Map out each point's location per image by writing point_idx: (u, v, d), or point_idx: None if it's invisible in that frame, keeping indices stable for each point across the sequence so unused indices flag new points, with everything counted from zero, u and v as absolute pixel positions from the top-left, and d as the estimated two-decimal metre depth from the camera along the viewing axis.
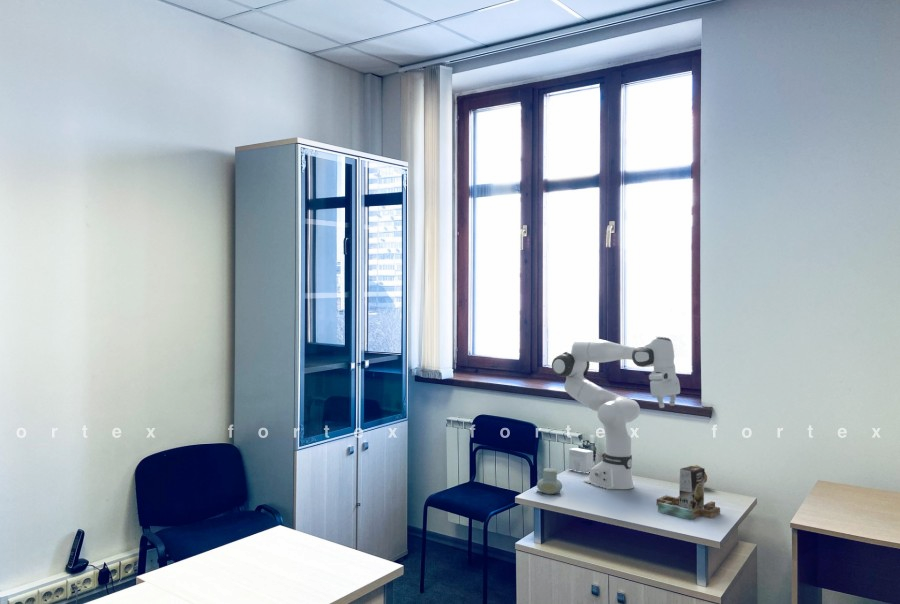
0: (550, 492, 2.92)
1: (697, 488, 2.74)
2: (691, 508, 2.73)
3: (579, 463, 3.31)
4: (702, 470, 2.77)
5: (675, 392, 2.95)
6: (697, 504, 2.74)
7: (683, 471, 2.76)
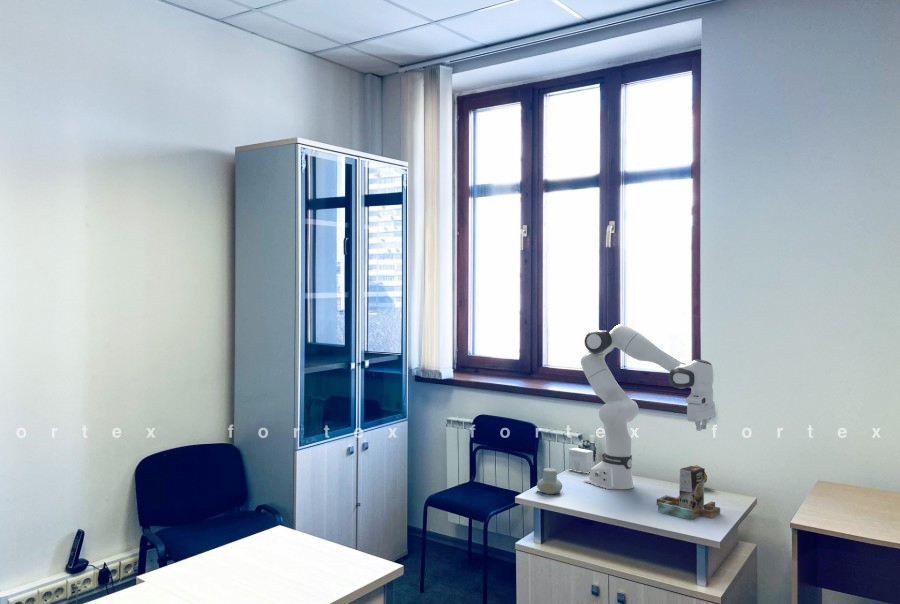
0: (550, 492, 2.92)
1: (697, 488, 2.74)
2: (691, 508, 2.73)
3: (579, 463, 3.31)
4: (702, 470, 2.77)
5: (710, 416, 2.95)
6: (697, 504, 2.74)
7: (683, 471, 2.76)
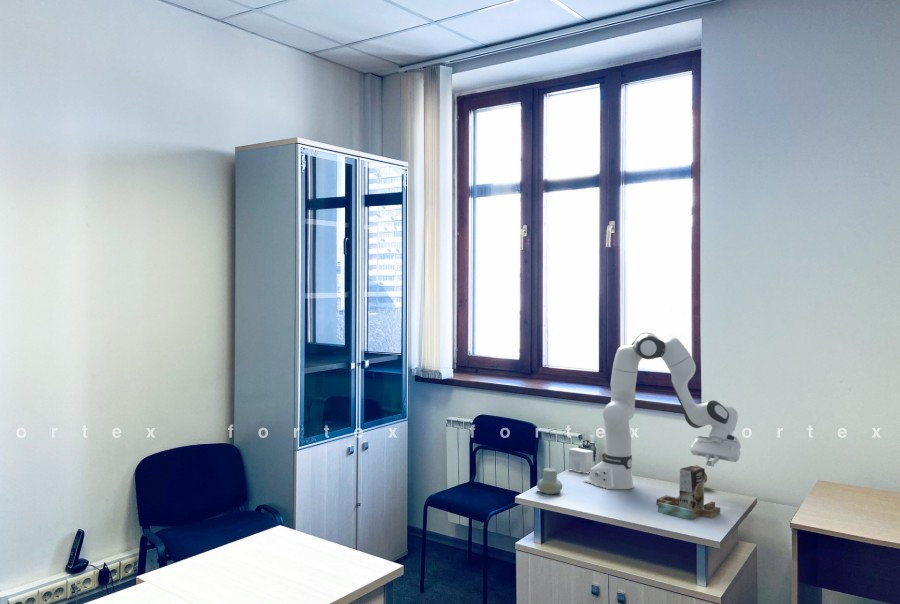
0: (550, 492, 2.92)
1: (697, 488, 2.74)
2: (691, 508, 2.73)
3: (579, 463, 3.31)
4: (702, 470, 2.77)
5: None
6: (697, 504, 2.74)
7: (683, 471, 2.76)
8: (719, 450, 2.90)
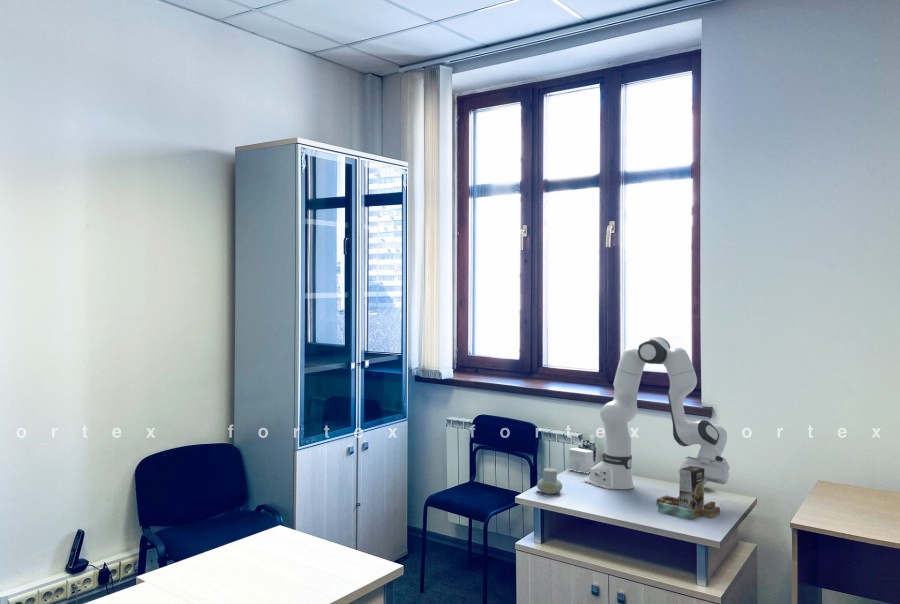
0: (550, 492, 2.92)
1: (697, 488, 2.74)
2: (691, 508, 2.73)
3: (579, 463, 3.31)
4: (702, 470, 2.77)
5: None
6: (696, 504, 2.74)
7: (683, 471, 2.76)
8: (707, 472, 2.82)
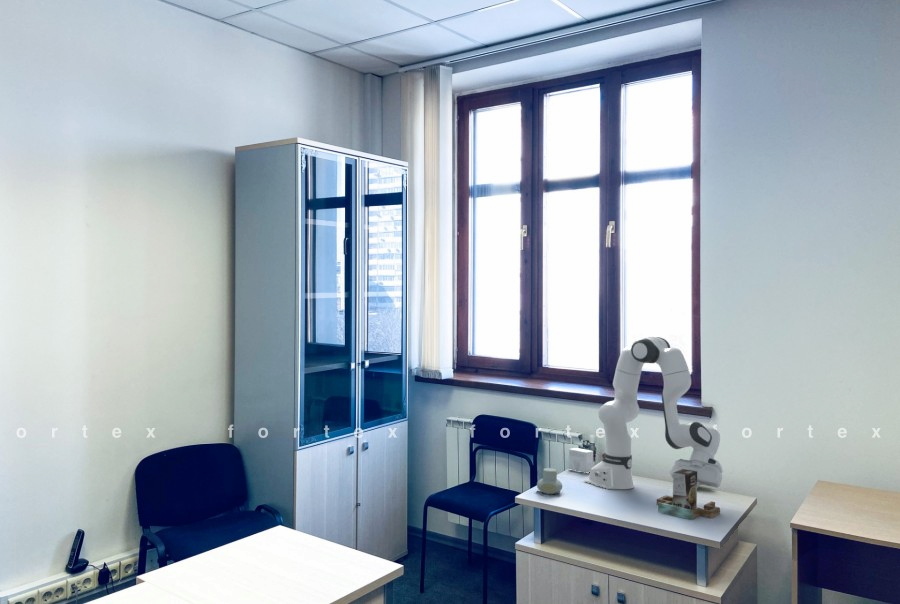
0: (550, 492, 2.92)
1: (691, 492, 2.69)
2: None
3: (579, 463, 3.31)
4: (695, 473, 2.72)
5: None
6: (690, 508, 2.69)
7: (677, 475, 2.70)
8: (700, 475, 2.77)
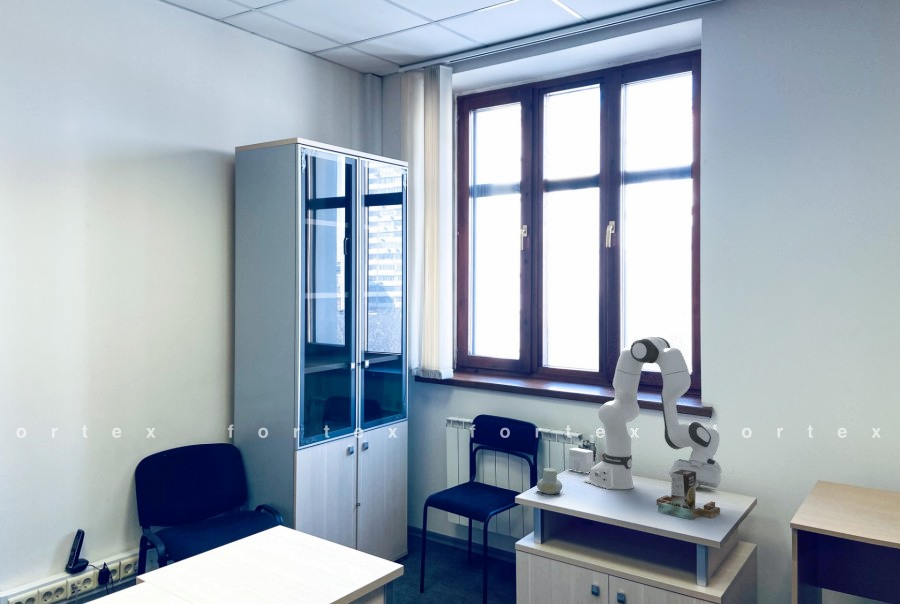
0: (550, 492, 2.92)
1: (689, 492, 2.68)
2: None
3: (579, 463, 3.31)
4: (694, 473, 2.71)
5: None
6: None
7: (675, 475, 2.69)
8: (699, 475, 2.76)
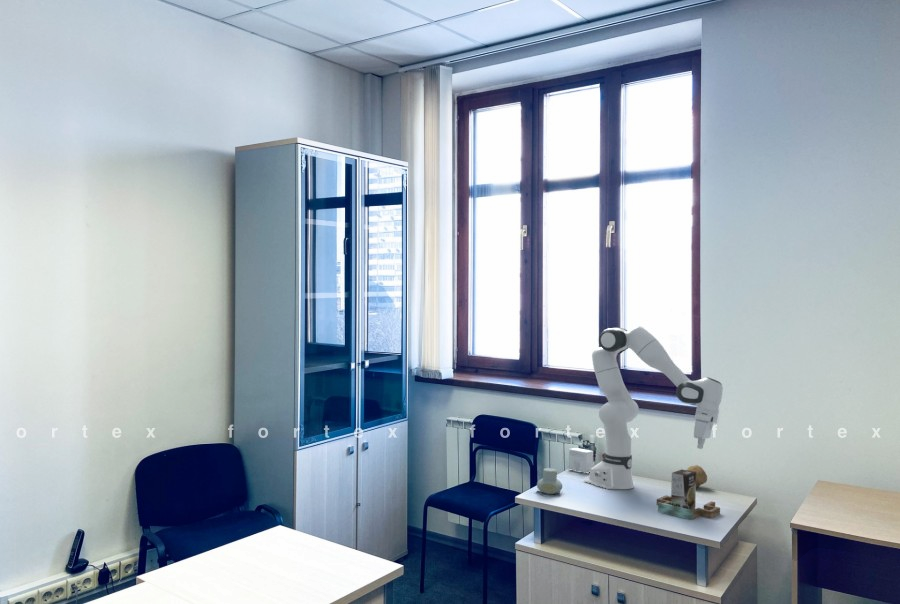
0: (550, 492, 2.92)
1: (689, 492, 2.68)
2: None
3: (579, 463, 3.31)
4: (694, 473, 2.71)
5: (708, 436, 2.91)
6: None
7: (675, 475, 2.69)
8: None
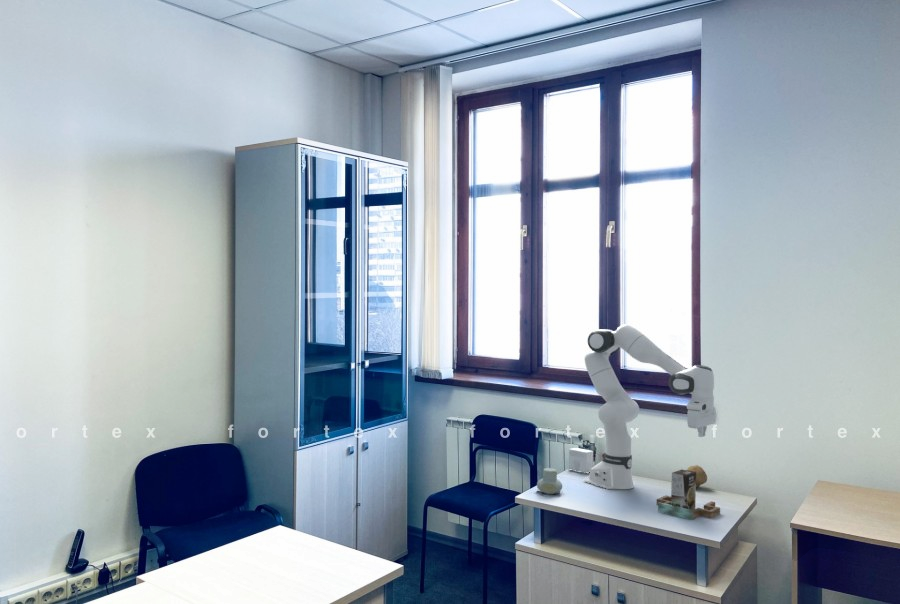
0: (550, 492, 2.92)
1: (689, 492, 2.68)
2: None
3: (579, 463, 3.31)
4: (694, 473, 2.71)
5: (711, 422, 2.90)
6: None
7: (675, 475, 2.69)
8: None
